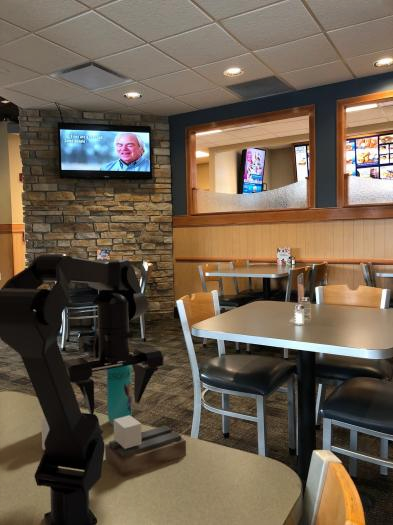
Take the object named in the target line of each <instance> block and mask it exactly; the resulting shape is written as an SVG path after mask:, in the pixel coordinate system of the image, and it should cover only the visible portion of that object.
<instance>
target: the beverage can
mask: <svg viewBox="0 0 393 525" xmlns="http://www.w3.org/2000/svg"><path fill="white" fill-rule="evenodd" d="M121 362H123V361H121ZM117 363H118V362H117ZM110 364H111V363H110ZM106 387H107V390H106V391H107V392H106V394H107V395H106V396H107V418H108V420H109V422H110V424H111V425H113V426H114V419H117V418H121V417H125V416H129V415H130V416H131V417H133V416H132V415H133V406H132V405H133V401H132V400H133V398H132V394H133V392H132V365H128V366H122V367H117V368H111V369H106Z"/></svg>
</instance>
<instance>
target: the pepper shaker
mask: <svg viewBox="0 0 393 525" xmlns="http://www.w3.org/2000/svg"><path fill="white" fill-rule="evenodd" d="M40 422H41V449H42V450H43V451H45V445H44V441H45V439H46V436H47V434H48V431H49V426H48V423H47V421H46V418H45V416H44V415H43V416H42V417H41V421H40Z"/></svg>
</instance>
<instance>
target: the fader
mask: <svg viewBox="0 0 393 525" xmlns="http://www.w3.org/2000/svg"><path fill="white" fill-rule="evenodd" d="M141 432H142V423H141V422H140V421H139V420H137V419H136V418H134V417H133V416H130V415H129V416H125V417H121V418H117V419H114V425H113V440H115V441H117V442H118V443H119V444H120V445H121V446H122V447H123V448H124V449H126V448H130V447H133V446H136V445H140V444H141Z"/></svg>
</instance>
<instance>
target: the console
mask: <svg viewBox="0 0 393 525" xmlns="http://www.w3.org/2000/svg"><path fill="white" fill-rule="evenodd" d="M104 445H105V450H104V458H105V460H106V461H107V462H108V464H109V465H110V466H111V467H112V468H113V469H114V470H115V471H116V472H117V473H118V474H119V475H120V476H121V477H122V478H123V477H125V476H129V475H132V474H134V473H135V474H136V473H137V472H140V471H143V470H147V469H150V468H153V467H155V466H159V465H161V464H164V463H167V462H170V461H173V460H176V459H179V458H181V457H185V456H186V455H187V441H186V439H184V438H183V437H182V435H181V434H179V433H178V432H176V431H173V430H172V428H170V427H169V426H167V425H161V426H158V427H156V428H152V429H149V430H144V431H141V444H140V445H136V446H133V447H130V448H126V449H124V448H123V447H122V446H121V445H120V444H119V443H118V442H117V441H115V440H114V439H113V440H110V441H109V443H107V444H106V443H104Z"/></svg>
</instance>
